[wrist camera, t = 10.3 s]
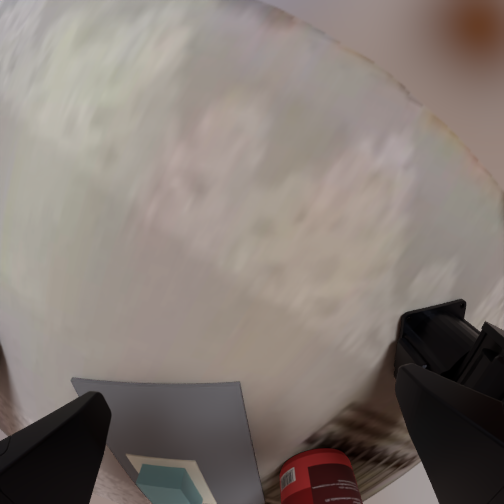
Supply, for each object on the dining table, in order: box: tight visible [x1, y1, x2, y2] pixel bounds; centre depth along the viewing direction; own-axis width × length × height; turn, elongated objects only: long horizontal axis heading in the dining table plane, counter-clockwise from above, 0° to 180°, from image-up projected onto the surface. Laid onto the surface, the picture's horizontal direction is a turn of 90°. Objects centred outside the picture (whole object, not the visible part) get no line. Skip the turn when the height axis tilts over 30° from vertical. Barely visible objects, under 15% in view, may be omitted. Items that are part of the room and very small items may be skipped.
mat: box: [71, 378, 265, 504], centre depth 24 cm, size 16×22×1 cm
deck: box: [136, 464, 203, 504], centre depth 23 cm, size 8×5×3 cm, turn 7°
